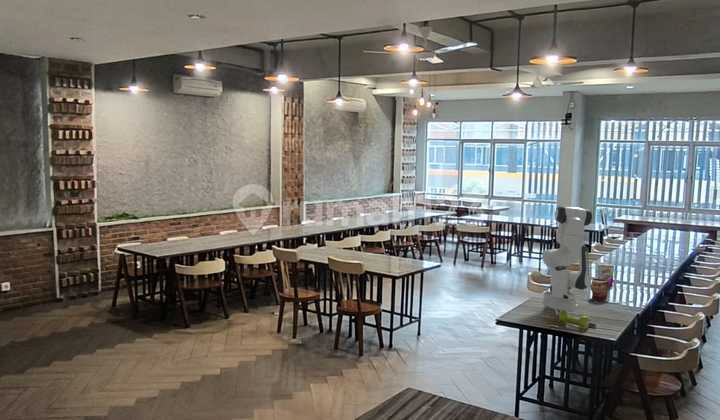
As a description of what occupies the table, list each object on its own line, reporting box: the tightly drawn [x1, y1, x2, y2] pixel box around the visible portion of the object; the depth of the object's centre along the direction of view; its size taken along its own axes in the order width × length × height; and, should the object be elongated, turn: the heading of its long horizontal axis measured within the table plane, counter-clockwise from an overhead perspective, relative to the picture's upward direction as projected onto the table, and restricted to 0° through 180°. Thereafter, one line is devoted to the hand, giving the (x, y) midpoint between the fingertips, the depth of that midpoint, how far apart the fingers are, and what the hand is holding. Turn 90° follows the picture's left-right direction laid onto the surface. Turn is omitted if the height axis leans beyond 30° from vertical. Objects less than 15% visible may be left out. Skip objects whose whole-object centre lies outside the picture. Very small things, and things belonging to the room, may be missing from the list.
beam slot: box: [542, 313, 597, 333], centre depth 342 cm, size 14×26×2 cm, turn 41°
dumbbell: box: [558, 311, 590, 330], centre depth 339 cm, size 16×8×7 cm, turn 46°
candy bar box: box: [596, 263, 615, 287], centre depth 446 cm, size 11×5×16 cm, turn 72°
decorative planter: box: [589, 278, 610, 302], centre depth 404 cm, size 20×12×14 cm, turn 150°
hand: (558, 316), depth 347 cm, fingers closed
